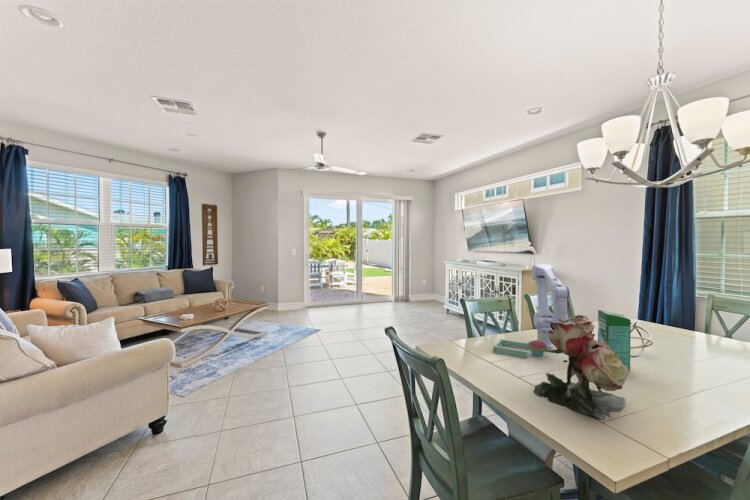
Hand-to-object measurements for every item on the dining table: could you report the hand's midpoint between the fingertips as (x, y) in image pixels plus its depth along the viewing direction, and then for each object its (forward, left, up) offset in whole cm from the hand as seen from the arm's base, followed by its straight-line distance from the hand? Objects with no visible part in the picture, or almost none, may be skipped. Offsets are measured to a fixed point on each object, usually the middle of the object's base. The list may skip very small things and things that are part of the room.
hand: (560, 339), depth 160 cm
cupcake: (0, -10, -10) cm, 14 cm away
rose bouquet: (+40, +11, -10) cm, 43 cm away
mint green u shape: (0, -21, -9) cm, 23 cm away
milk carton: (-1, +21, -10) cm, 23 cm away
